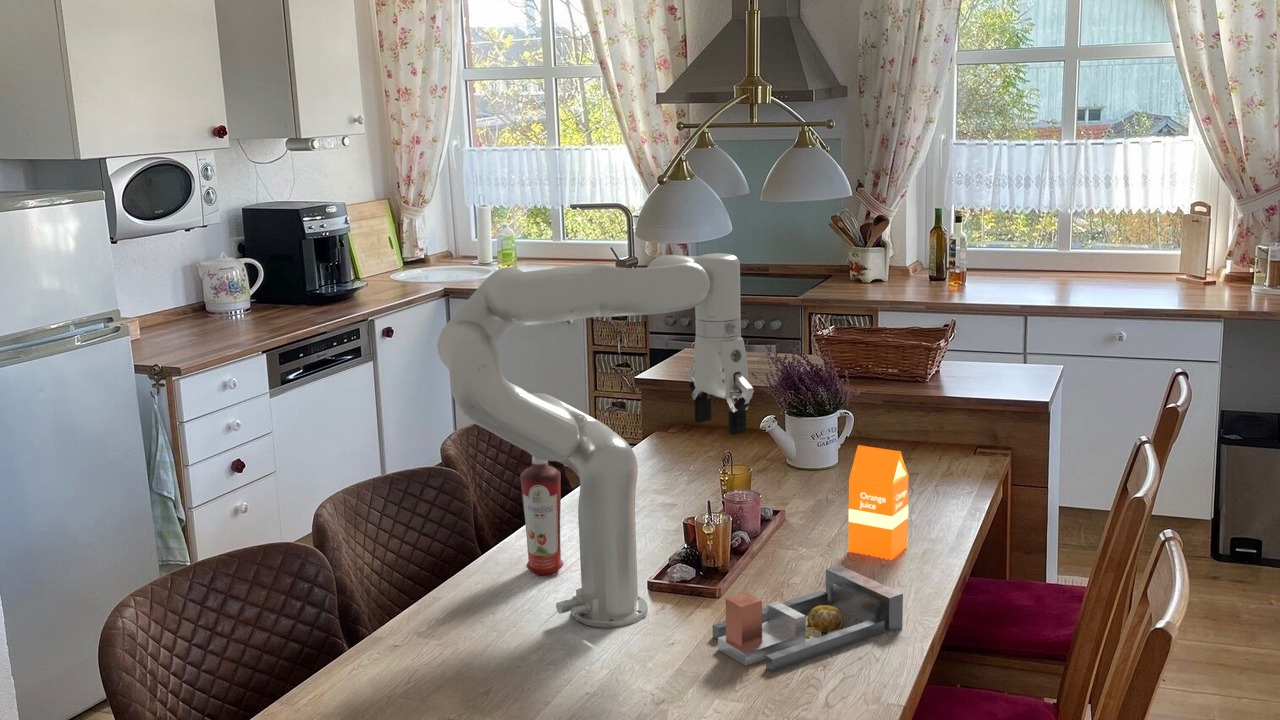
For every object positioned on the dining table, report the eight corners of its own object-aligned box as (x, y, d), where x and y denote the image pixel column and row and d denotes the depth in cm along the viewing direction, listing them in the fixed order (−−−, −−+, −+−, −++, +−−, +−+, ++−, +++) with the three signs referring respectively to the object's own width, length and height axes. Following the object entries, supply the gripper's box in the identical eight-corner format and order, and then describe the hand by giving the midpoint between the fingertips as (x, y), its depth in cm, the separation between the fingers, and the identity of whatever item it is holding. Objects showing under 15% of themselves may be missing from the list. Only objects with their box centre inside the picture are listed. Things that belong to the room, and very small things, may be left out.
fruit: (800, 641, 198) (799, 620, 197) (800, 620, 206) (799, 599, 205) (852, 643, 197) (852, 622, 196) (850, 621, 205) (850, 600, 204)
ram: (745, 665, 189) (744, 611, 187) (718, 649, 195) (717, 596, 193) (805, 645, 195) (805, 591, 193) (777, 629, 201) (777, 577, 199)
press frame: (772, 674, 187) (772, 637, 185) (712, 638, 199) (712, 604, 198) (902, 628, 201) (902, 593, 200) (838, 597, 213) (839, 565, 212)
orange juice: (864, 538, 240) (865, 439, 236) (907, 547, 235) (909, 446, 231) (847, 551, 234) (848, 450, 230) (891, 560, 229) (893, 457, 225)
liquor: (523, 579, 225) (515, 431, 219) (527, 564, 233) (520, 420, 226) (563, 578, 225) (556, 430, 219) (566, 563, 232) (560, 419, 226)
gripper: (768, 333, 201) (769, 434, 205) (705, 318, 215) (707, 413, 219) (731, 339, 197) (733, 442, 201) (670, 323, 211) (672, 420, 215)
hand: (719, 427), depth 210 cm, fingers open, 9 cm apart
